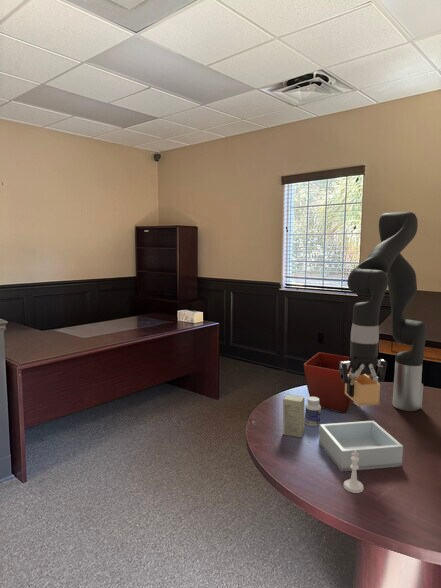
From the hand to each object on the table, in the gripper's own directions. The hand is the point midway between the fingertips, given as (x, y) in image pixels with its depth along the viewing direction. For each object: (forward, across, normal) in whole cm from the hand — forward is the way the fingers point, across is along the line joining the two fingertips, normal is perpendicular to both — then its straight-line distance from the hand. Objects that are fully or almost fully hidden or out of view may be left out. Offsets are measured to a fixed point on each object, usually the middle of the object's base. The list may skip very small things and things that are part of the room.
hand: (361, 395), depth 120 cm
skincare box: (+18, +15, -15) cm, 28 cm away
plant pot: (+18, -8, -35) cm, 40 cm away
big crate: (+18, 0, 0) cm, 18 cm away
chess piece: (+18, +9, +15) cm, 25 cm away
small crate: (+1, 0, 0) cm, 1 cm away
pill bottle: (+18, +6, -21) cm, 29 cm away
